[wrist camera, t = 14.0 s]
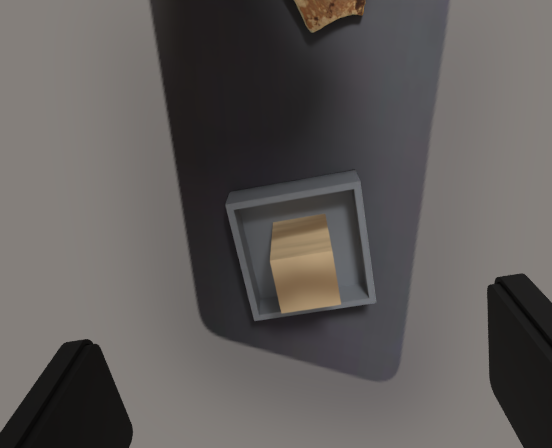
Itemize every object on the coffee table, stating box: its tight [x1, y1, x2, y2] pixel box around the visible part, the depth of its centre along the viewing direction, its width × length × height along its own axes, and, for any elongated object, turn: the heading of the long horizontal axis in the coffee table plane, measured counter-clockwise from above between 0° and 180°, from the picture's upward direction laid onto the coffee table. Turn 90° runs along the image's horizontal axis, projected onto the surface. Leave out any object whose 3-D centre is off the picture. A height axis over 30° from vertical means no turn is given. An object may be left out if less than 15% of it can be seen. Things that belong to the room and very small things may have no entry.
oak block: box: [270, 214, 341, 314], centre depth 42 cm, size 5×5×8 cm
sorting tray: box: [225, 170, 376, 321], centre depth 45 cm, size 12×12×4 cm
